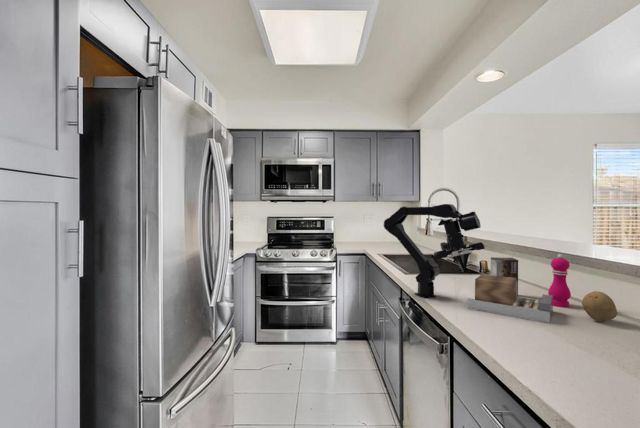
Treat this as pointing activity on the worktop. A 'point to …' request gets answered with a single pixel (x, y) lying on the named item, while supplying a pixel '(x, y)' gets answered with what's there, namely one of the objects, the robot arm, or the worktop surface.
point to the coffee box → (505, 268)
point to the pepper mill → (559, 282)
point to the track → (518, 308)
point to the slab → (495, 289)
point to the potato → (599, 306)
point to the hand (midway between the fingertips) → (464, 271)
